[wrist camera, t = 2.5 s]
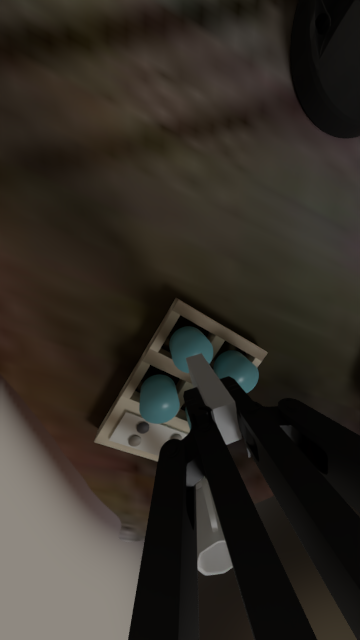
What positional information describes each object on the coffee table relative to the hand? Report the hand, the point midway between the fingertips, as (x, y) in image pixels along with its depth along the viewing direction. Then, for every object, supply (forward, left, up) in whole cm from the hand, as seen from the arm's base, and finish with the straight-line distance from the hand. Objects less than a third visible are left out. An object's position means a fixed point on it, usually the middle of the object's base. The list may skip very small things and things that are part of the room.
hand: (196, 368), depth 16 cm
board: (+6, +3, -8) cm, 10 cm away
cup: (+20, +16, -8) cm, 27 cm away
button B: (0, +7, -6) cm, 9 cm away
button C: (+7, 0, -6) cm, 9 cm away
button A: (0, 0, -6) cm, 6 cm away
